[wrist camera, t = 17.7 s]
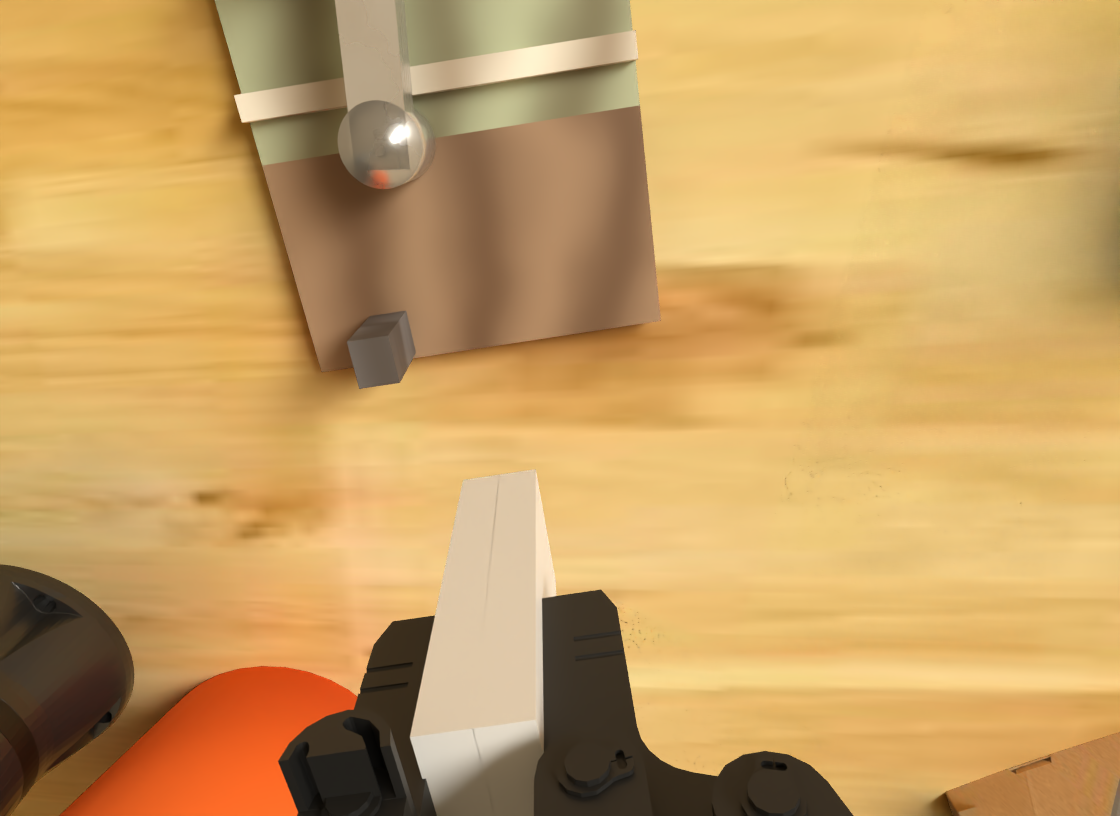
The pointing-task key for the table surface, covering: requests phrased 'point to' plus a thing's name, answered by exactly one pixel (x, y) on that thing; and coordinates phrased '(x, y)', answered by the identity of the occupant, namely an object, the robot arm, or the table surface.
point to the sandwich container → (1049, 785)
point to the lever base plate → (457, 178)
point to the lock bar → (380, 97)
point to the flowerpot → (218, 749)
